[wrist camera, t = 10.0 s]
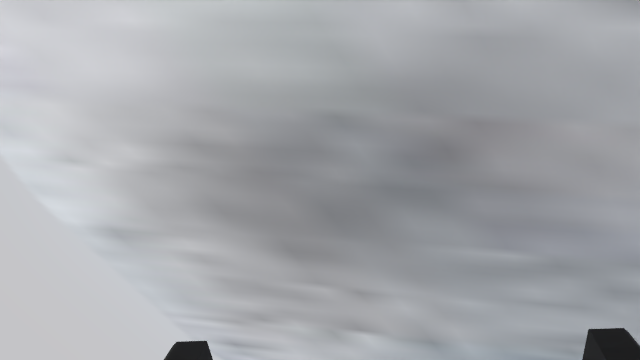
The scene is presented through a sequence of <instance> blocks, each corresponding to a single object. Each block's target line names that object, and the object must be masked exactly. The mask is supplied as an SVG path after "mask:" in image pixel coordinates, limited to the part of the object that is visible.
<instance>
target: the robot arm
mask: <svg viewBox="0 0 640 360" xmlns="http://www.w3.org/2000/svg"><path fill="white" fill-rule="evenodd" d="M164 360H213V359H212V356H211V353H210V349H209V346H208V343H207V341H189V342H176V343H175V344H174V345H173V347H172V348H171V350H170V351H169V353H168V354H167V356H166V358H165V359H164ZM582 360H640V346H639V345H638V343H637V342H636V341H635V340H634V338H633V337H632V336H631V335H630V334H629V332H628V331H626V330H625V329H624V328H614V329H589V330H588V335H587V340H586V345H585V349H584V354H583V359H582Z"/></svg>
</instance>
